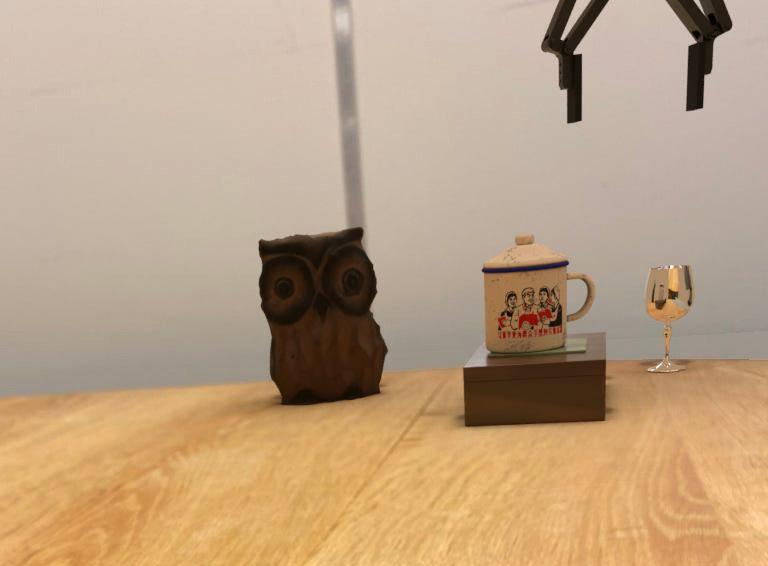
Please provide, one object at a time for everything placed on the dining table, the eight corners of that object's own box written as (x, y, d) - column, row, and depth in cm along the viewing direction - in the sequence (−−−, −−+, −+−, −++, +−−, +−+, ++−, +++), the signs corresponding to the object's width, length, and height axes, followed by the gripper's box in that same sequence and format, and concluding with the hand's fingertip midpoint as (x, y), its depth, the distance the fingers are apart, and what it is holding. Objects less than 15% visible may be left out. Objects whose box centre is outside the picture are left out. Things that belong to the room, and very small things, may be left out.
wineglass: (688, 364, 133) (692, 263, 129) (693, 371, 128) (698, 266, 124) (640, 367, 135) (643, 267, 130) (643, 374, 130) (646, 271, 125)
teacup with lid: (492, 356, 112) (489, 239, 108) (476, 347, 120) (473, 237, 116) (606, 345, 112) (608, 227, 107) (582, 336, 120) (583, 226, 116)
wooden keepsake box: (485, 390, 130) (484, 338, 128) (604, 383, 126) (605, 330, 124) (464, 426, 110) (462, 365, 108) (605, 420, 107) (606, 357, 104)
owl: (394, 391, 136) (384, 224, 129) (327, 409, 128) (313, 232, 120) (321, 387, 144) (309, 230, 137) (255, 404, 136) (237, 239, 129)
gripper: (531, -111, 106) (534, 124, 113) (774, -134, 107) (761, 100, 115) (510, -90, 113) (514, 130, 120) (739, -112, 114) (728, 108, 122)
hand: (634, 116), depth 118 cm, fingers open, 13 cm apart
